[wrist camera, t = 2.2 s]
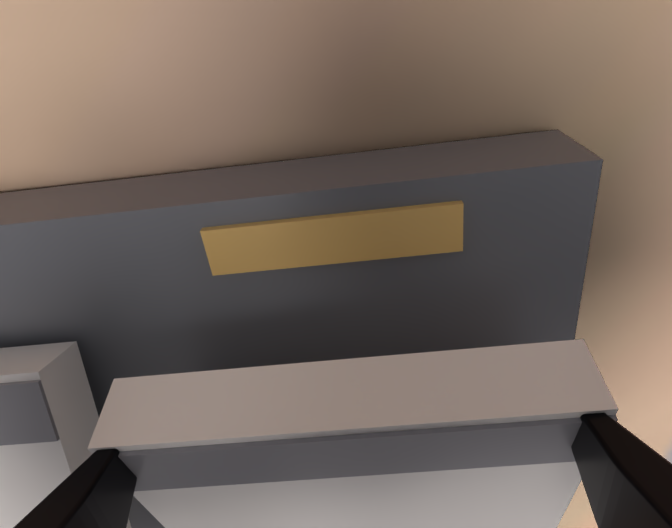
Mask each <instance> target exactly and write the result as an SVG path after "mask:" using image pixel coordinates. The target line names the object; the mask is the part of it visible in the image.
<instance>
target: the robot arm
mask: <svg viewBox="0 0 672 528" xmlns="http://www.w3.org/2000/svg"><path fill="white" fill-rule="evenodd" d="M580 419H581V421H582V424H581V426H580V428H579V430H578V433H577V435H576V437H575V439H574V442H573V444H572V446H571V449H572V452H573V455H574V458H575V461H576V464H577V467H578V470H579V473H580V476H581V479H582V482H583V485H584V488H585V491H586V494H587V497H588V499H589V502H590V505H591V508H592V511H593V514H594V517H595V520H596V523H597V525H598V528H672V464H671V463H670V462H669V461H667V460H666V459H665V458H663V457H662V456H661V455H660V454H658V453H657V452H656V451H654V450H653V449H652V448H650V447H649V446H648V445H646V444H645V443H644V442H643V441H641V440H640V439H639V438H637V437H636V436H635V435H633V434H632V433H631V432H630V431H628V430H627V429H626V428H624V427H623V426H622V425H620V424H619V423H618V422H616V421H615V420H614V419H613V418H611V417H610V416H609V415H607V414H606V413H590V414H583V415H581V416H580ZM119 452H120V451H119V450H117V449H102V450H96V451H95V452H94V453H93V454H92V455H91V456H90V457H89V458H88V459H86V460H85V461H84V462H83V463H82V464H81V465H80V466H79V467H78V468H77V469H76V470H75V471H74V472H72V473H71V474H70V475H69V476H68V477H67V478H66V479H65V480H64V481H63V482H62V483H61V484H60V485H58V486H57V487H56V488H55V489H54V490H53V491H52V492H51V493H50V494H49V495H48V496H47V497H46V498H44V499H43V500H42V501H41V502H40V503H39V504H38V505H37V506H36V507H35V508H34V509H33V510H32V511H31V512H29V513H28V514H27V515H26V516H25V517H24V518H23V519H22V520H21V521H20V522H19V523H18V524H17V525H15V526H14V527H13V528H126V527H127V523H128V518H129V514H130V509H131V505H132V500H133V496H134V491H135V487H136V482H137V477H136V476H135V475H134V473H133V472H132V471H131V470H130V469H129V468H128V467H127V466H126V465H125V464H124V462H123V461H122V460H121V459H120V458H119V457H118V455H119Z"/></svg>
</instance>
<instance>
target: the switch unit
mask: <svg viewBox="0 0 672 528" xmlns="http://www.w3.org/2000/svg"><path fill="white" fill-rule="evenodd" d="M602 163H603V159H602V158H600V157H599V156H597V155H596V154H594V153H593V152H591V151H590V150H588V149H586V148H585V147H583V146H582V145H580V144H579V143H577V142H576V141H574V140H573V139H571V138H570V137H568V136H567V135H565V134H564V133H562V132H561V131H559V130H550V131H541V132H532V133H523V134H514V135H506V136H497V137H488V138H479V139H471V140H462V141H453V142H444V143H435V144H427V145H418V146H409V147H400V148H392V149H383V150H374V151H365V152H356V153H348V154H339V155H330V156H321V157H313V158H304V159H295V160H286V161H277V162H269V163H260V164H251V165H242V166H234V167H225V168H216V169H207V170H198V171H190V172H181V173H172V174H163V175H155V176H146V177H137V178H128V179H119V180H111V181H102V182H93V183H84V184H76V185H67V186H58V187H49V188H41V189H32V190H23V191H14V192H5V193H0V348H7V347H18V346H29V345H40V344H51V343H62V342H73V341H77V345H78V348H79V352H80V355H81V358H82V362H83V365H84V368H85V372H86V375H87V379H88V382H89V385H90V389H91V392H92V396H93V399H94V402H95V406H96V409H97V413H98V416H99V417H100V414H101V411H102V409H103V406H104V403H105V401H106V398H107V396H108V393H109V390H110V388H111V385H112V382H113V380H114V379H116V378H128V377H140V376H152V375H163V374H175V373H187V372H199V371H211V370H222V369H234V368H246V367H258V366H270V365H281V364H293V363H305V362H317V361H329V360H340V359H352V358H364V357H376V356H388V355H399V354H411V353H423V352H435V351H447V350H458V349H470V348H482V347H494V346H506V345H518V344H529V343H541V342H553V341H565V340H574V339H575V333H576V326H577V320H578V314H579V307H580V301H581V295H582V289H583V282H584V276H585V270H586V263H587V257H588V251H589V245H590V238H591V232H592V226H593V219H594V213H595V207H596V201H597V194H598V188H599V182H600V175H601V169H602ZM129 521H130V524H131V528H165V527H164V526H163V525H162V524H161V523H160V522H159V521H158V520H157V519H156V518H155V517H154V516H153V515H152V514H151V513H150V512H149V511H148V510H147V509H146V508H145V507H144V506H143V505H142V504H141V503H140V502H139V501H138V500H137V499H136V498H135V497H134V496H133V500H132V505H131V509H130V514H129Z"/></svg>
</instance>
